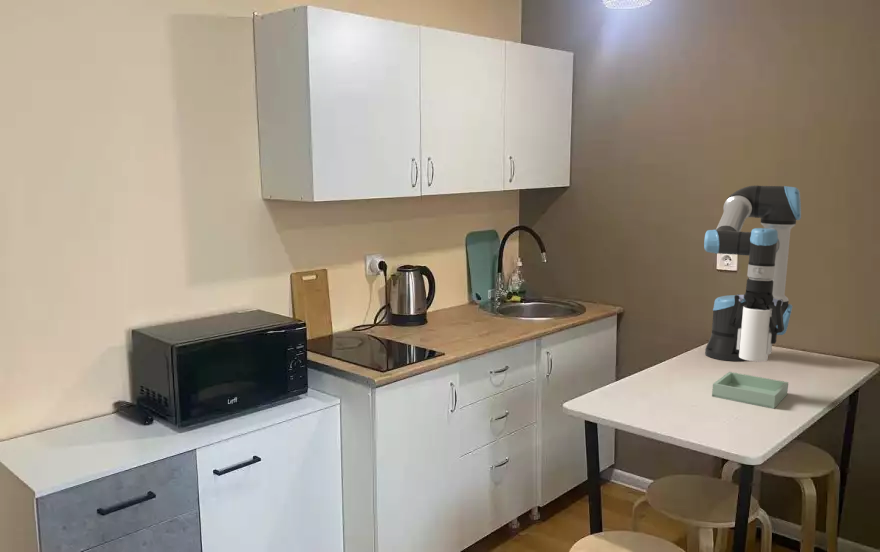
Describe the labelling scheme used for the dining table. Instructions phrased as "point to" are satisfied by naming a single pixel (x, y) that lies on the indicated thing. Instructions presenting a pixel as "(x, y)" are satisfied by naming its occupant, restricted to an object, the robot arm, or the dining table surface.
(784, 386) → the bin
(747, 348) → the cup
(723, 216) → the robot arm
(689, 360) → the dining table surface
